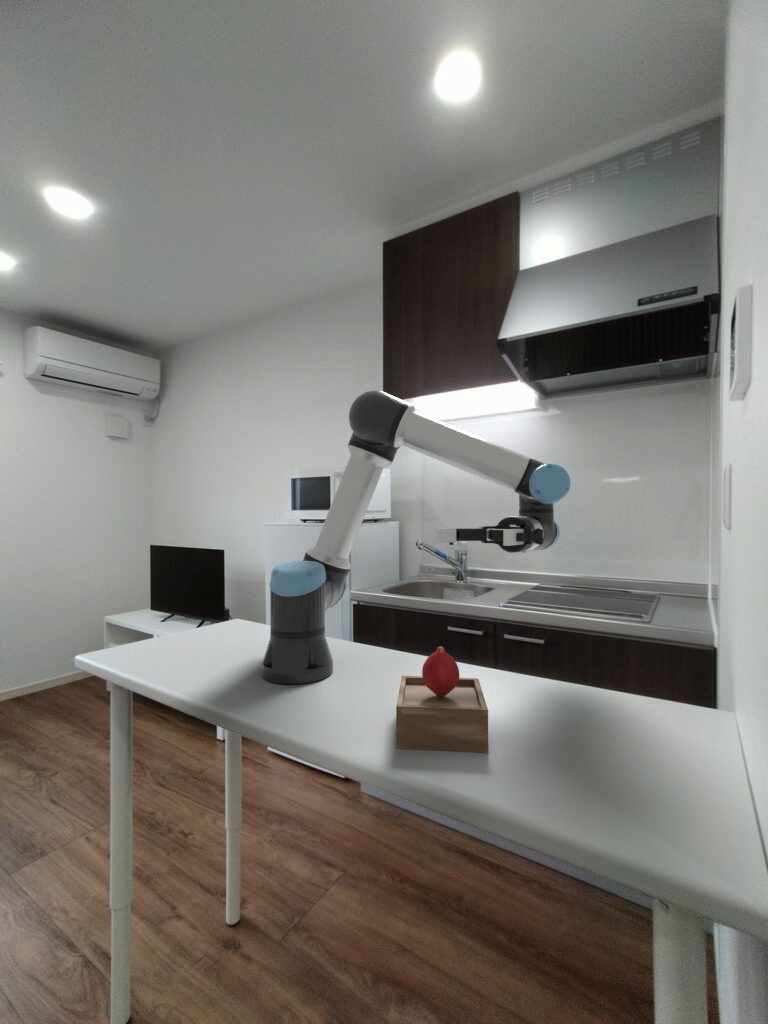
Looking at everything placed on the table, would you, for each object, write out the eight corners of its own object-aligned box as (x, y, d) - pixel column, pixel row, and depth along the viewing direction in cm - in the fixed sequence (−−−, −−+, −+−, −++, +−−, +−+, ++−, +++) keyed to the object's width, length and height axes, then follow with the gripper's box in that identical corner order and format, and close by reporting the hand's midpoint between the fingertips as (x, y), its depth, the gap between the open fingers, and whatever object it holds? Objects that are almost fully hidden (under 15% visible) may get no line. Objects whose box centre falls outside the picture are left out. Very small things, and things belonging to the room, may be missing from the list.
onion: (421, 690, 74) (420, 641, 74) (456, 690, 74) (456, 641, 74) (423, 704, 68) (423, 651, 69) (462, 704, 68) (461, 651, 69)
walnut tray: (401, 710, 78) (401, 675, 78) (478, 713, 77) (478, 678, 77) (396, 748, 65) (396, 706, 65) (488, 752, 64) (488, 709, 64)
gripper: (580, 554, 88) (539, 562, 71) (466, 549, 104) (411, 554, 87) (580, 515, 88) (539, 514, 72) (466, 516, 104) (411, 515, 88)
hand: (468, 536), depth 79 cm, fingers open, 13 cm apart
